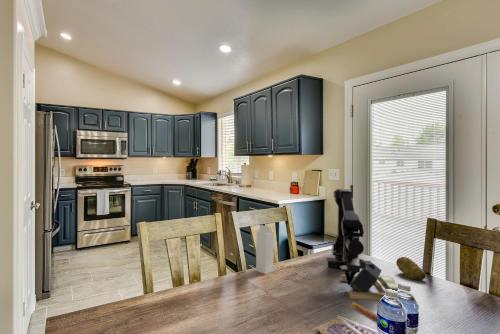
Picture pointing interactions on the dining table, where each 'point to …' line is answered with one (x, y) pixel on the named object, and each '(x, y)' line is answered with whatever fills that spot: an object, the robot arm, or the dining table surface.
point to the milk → (264, 250)
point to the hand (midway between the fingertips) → (348, 284)
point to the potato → (410, 268)
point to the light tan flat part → (381, 284)
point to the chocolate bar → (364, 311)
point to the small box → (365, 279)
